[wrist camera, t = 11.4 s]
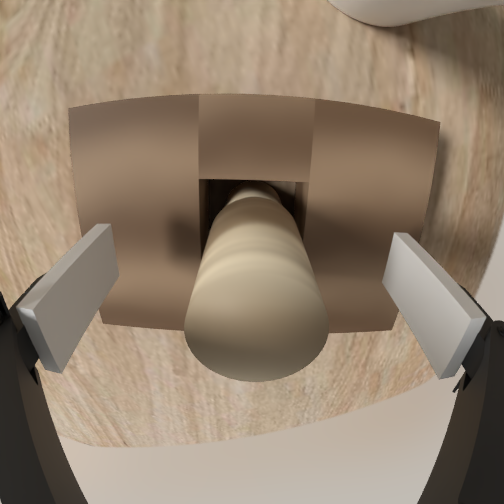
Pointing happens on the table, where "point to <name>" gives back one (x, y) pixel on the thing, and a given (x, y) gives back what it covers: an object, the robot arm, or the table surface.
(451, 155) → the table surface
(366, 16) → the candle holder
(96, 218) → the wooden block with hole
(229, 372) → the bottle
